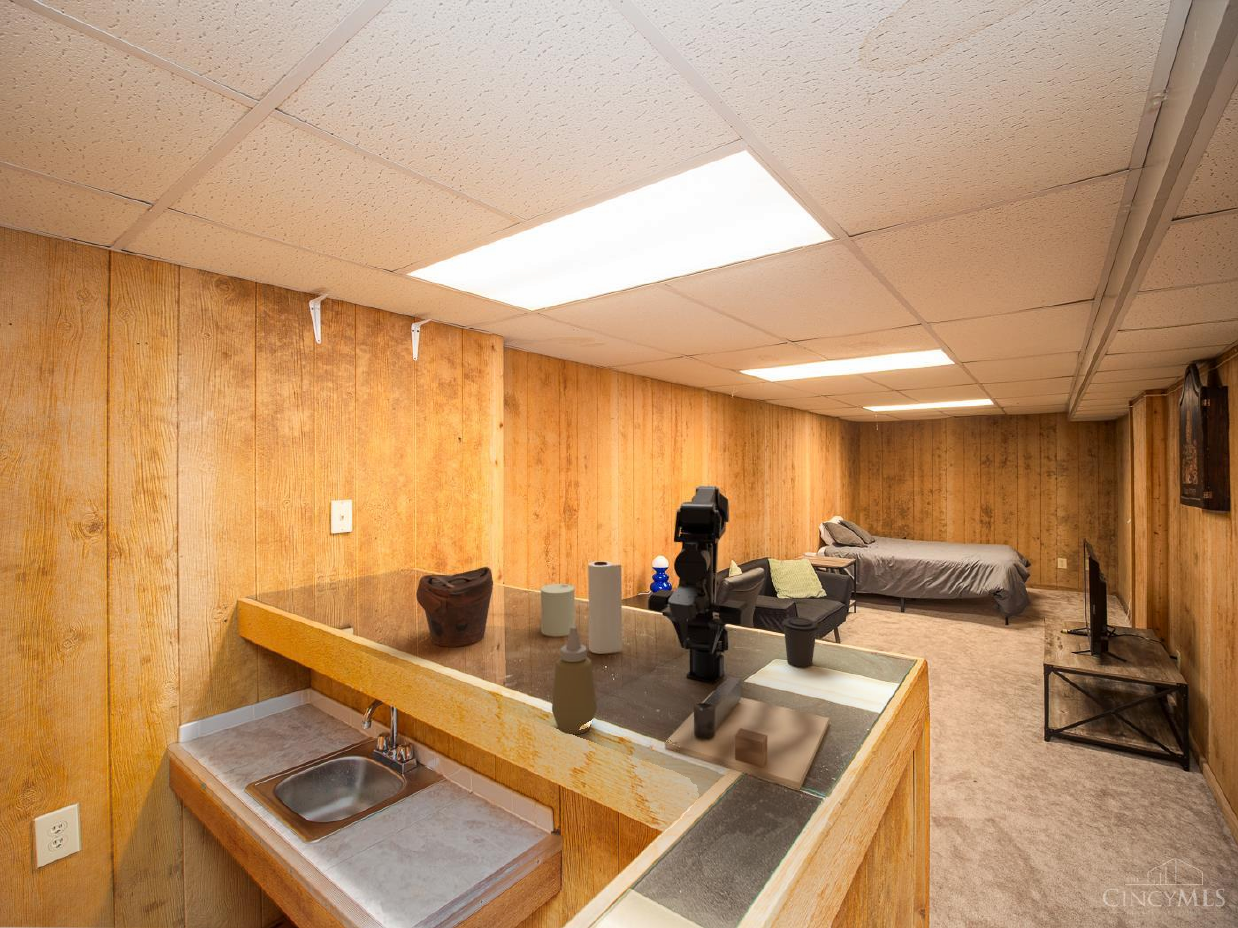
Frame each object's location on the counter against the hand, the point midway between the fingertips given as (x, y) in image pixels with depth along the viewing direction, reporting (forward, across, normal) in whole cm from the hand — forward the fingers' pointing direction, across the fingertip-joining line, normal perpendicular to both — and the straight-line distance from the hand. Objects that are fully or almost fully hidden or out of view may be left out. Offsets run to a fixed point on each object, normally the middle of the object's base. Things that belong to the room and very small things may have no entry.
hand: (697, 650), depth 108 cm
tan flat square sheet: (+11, +12, -5) cm, 17 cm away
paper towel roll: (+11, -31, +15) cm, 36 cm away
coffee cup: (+11, +12, +31) cm, 35 cm away
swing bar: (+10, +6, -4) cm, 12 cm away
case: (+11, -68, +3) cm, 69 cm away
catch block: (+10, +15, -14) cm, 23 cm away
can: (+11, -49, +21) cm, 54 cm away
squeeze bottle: (+11, -16, -18) cm, 27 cm away
